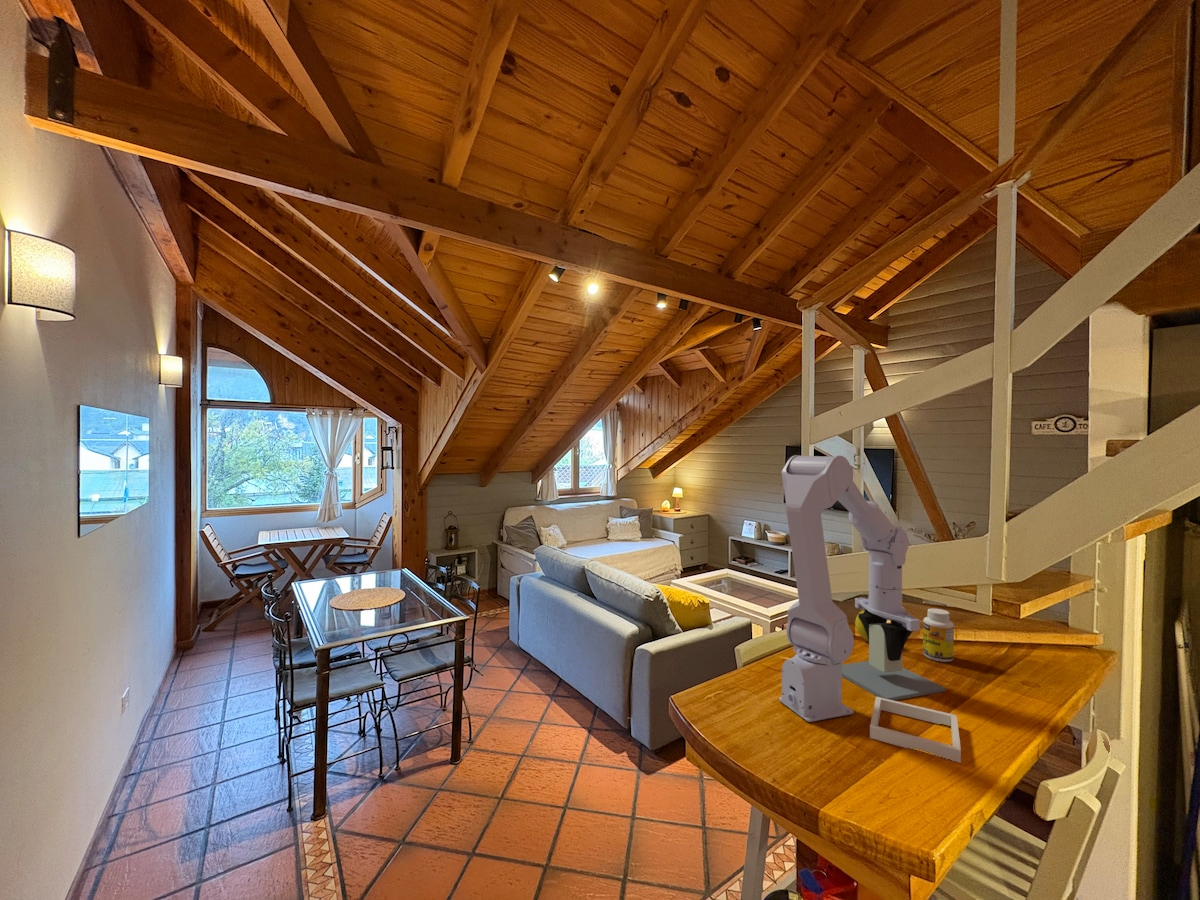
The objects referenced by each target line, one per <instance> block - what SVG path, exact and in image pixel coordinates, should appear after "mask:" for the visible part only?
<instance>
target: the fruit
mask: <svg viewBox="0 0 1200 900" xmlns="http://www.w3.org/2000/svg"><path fill="white" fill-rule="evenodd" d="M860 613H864V610H862V611H860V612H859V613H858V614H860ZM858 614H857V615H856V618H855V621H854V622H855V623H854V624H855V629H856V632H857V633H858V634H859V635H860V637H862V638H863V639H864V640H865V641H866V642H867V643H869V641H868V637H867V634H866V631H865V628H864V626H863V624H862V622H861V621H860V619H859V617H858Z"/></svg>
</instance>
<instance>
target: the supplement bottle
mask: <svg viewBox="0 0 1200 900" xmlns="http://www.w3.org/2000/svg"><path fill="white" fill-rule="evenodd" d="M926 614H927V616H925V617H924V618H923V619H922V624H923V625H922V626H923V627H922V628H923V629H922V633H923V634H922V645H923V646H922V647H923V648H922V653H923V656H925V657H926V658H927V659H930V660H931V661H932V660H933V661H936V662H939V661H940V662H941V663H949V662H950V663H951V662H953V660H954V657H955V655H954V652H955V651H954V650H955V643H954V642H955V641H954V640H955V624H954V622H952V621H951V620H950V612H949V611H948V610H945V609H941V608H932V607H931V608H928V609H927V613H926Z"/></svg>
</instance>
